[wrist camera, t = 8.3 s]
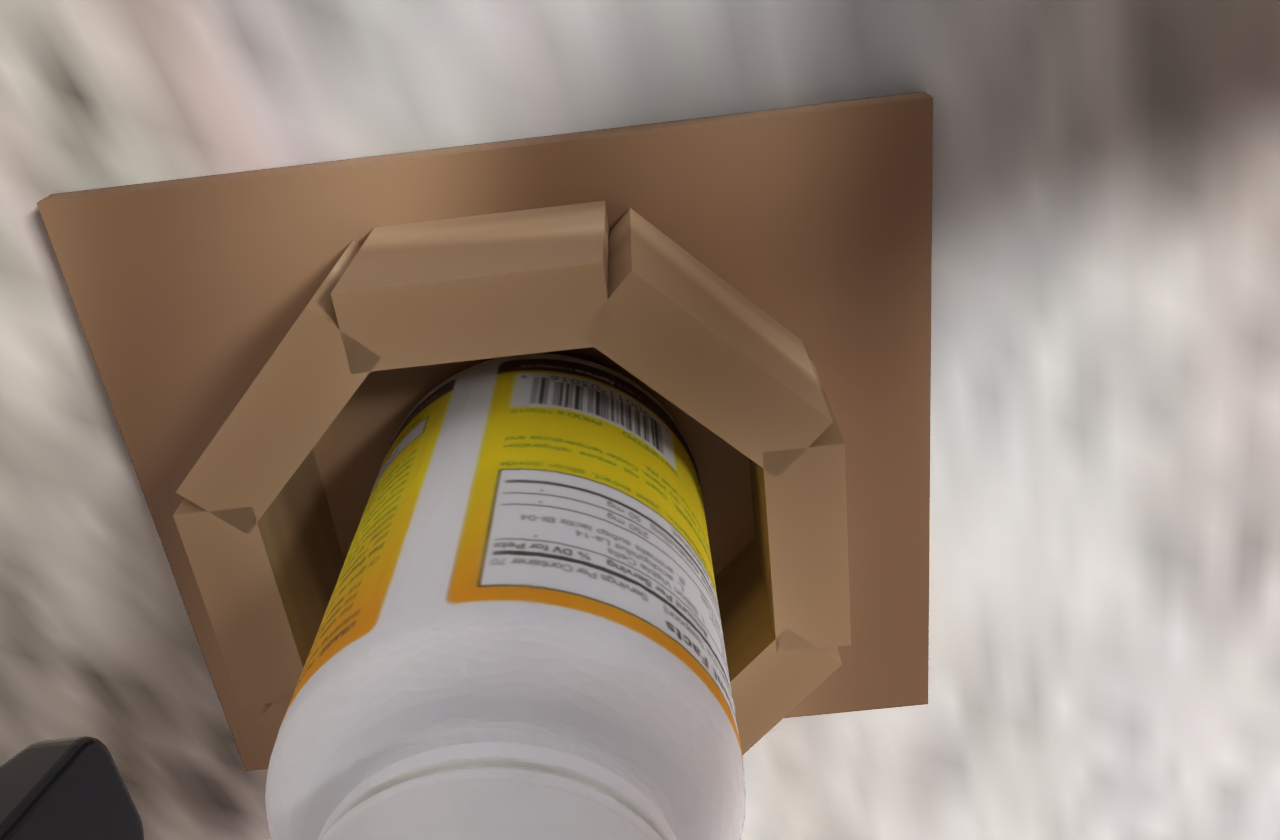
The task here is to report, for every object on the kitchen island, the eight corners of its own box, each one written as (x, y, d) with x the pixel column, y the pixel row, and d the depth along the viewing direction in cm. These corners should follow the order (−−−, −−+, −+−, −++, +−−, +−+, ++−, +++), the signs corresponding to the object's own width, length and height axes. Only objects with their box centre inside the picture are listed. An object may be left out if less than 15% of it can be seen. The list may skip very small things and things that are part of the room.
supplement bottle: (446, 638, 21) (314, 1220, 12) (342, 381, 19) (78, 863, 10) (731, 576, 21) (821, 1135, 12) (661, 305, 18) (704, 736, 9)
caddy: (924, 91, 17) (992, 143, 14) (922, 687, 23) (970, 819, 20) (51, 194, 18) (-70, 266, 15) (253, 753, 23) (195, 892, 20)
